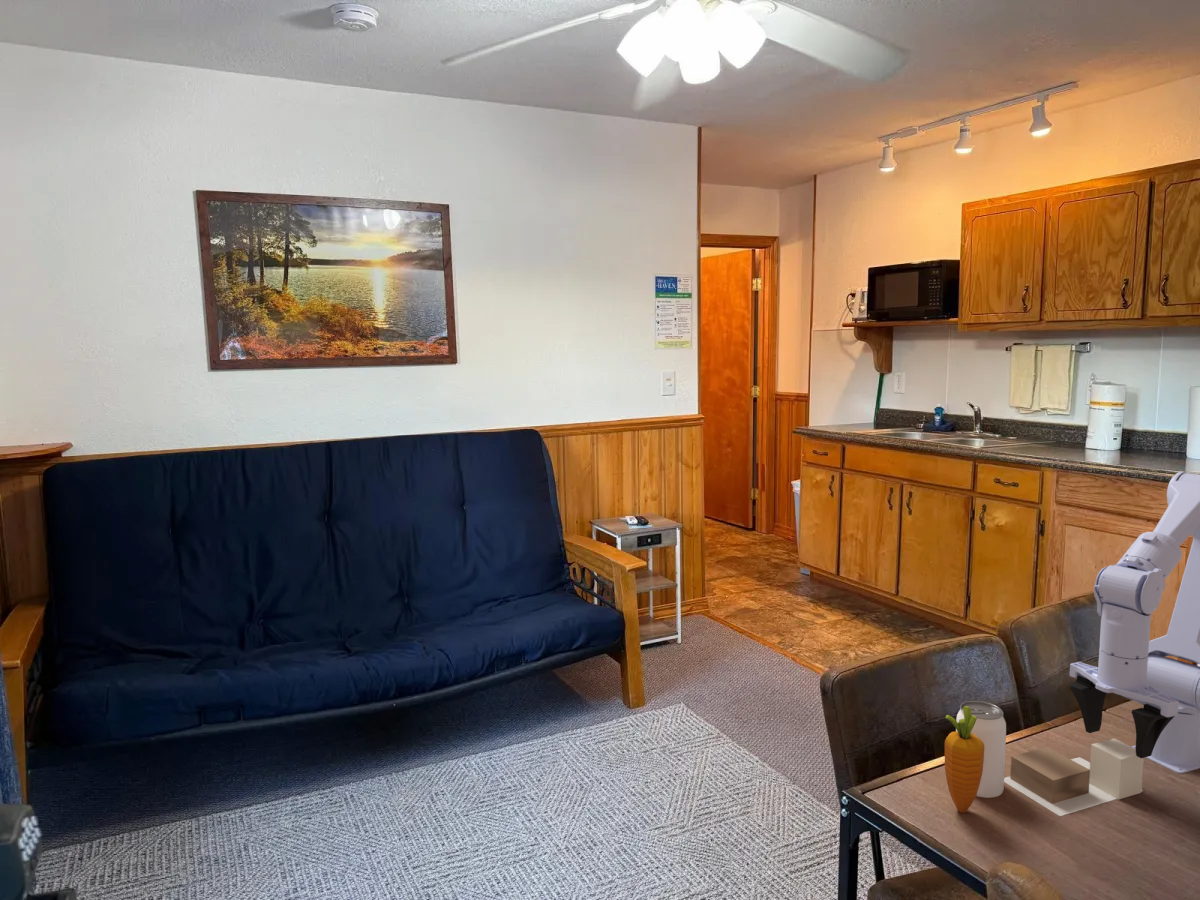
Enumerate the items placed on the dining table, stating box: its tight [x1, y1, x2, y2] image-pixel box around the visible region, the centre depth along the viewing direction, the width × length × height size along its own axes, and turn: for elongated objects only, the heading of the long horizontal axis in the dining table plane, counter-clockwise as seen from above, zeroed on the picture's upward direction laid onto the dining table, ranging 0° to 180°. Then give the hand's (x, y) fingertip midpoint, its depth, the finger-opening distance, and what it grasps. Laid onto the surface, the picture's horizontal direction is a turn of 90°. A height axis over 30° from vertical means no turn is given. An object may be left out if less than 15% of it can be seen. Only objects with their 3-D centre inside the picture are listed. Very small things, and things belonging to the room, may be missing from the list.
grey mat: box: [1004, 757, 1144, 817], centre depth 115 cm, size 16×10×1 cm, turn 110°
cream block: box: [1089, 737, 1145, 801], centre depth 113 cm, size 4×4×6 cm
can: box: [955, 700, 1007, 799], centre depth 115 cm, size 6×6×12 cm
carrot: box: [944, 706, 984, 814], centre depth 108 cm, size 5×5×15 cm
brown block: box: [1010, 746, 1090, 804], centre depth 114 cm, size 7×7×4 cm
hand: (1117, 743), depth 113 cm, fingers open, 7 cm apart
